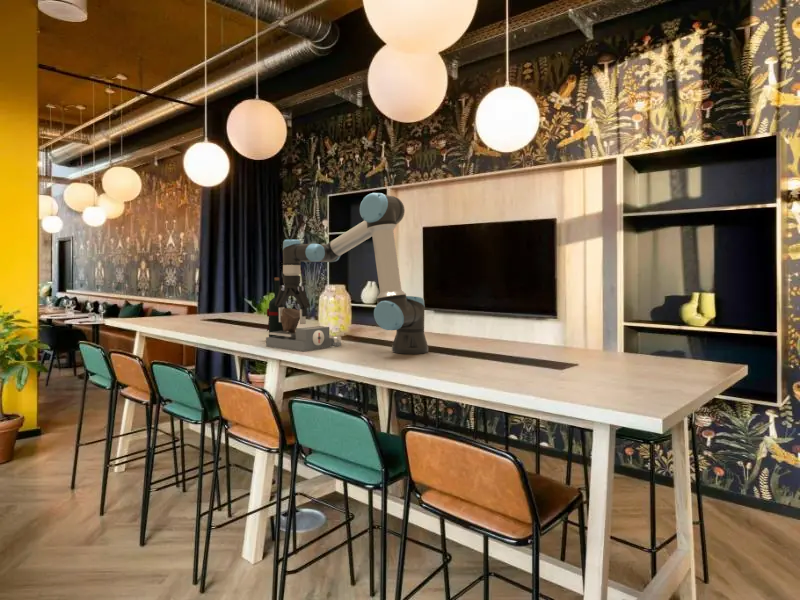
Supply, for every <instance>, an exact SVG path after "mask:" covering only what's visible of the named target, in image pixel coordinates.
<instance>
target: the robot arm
mask: <svg viewBox="0 0 800 600" xmlns="http://www.w3.org/2000/svg"><path fill="white" fill-rule="evenodd" d="M359 214H360V218H362V220H363V221H362V222H359V223H358V224H357V225H354V226H353V227H352V228H350V229H349V230H347V231H346V232H344V233H342V234H340V235H339V236H338V237H336V238H334V239H332V240H331V241H329V242H328V243H325V244H319V243H303V244H302V243H301V240H300V239H284V240H283V241H282V264H283V265H282V274H283V275H282V283H283V285H279V292H278V295H277V298H276V301H275V306H277V307H278V314H279V322H281V313H282V311H283V309H284V308H286V306H285V307H284V304H285V305H286V302H287V300H288V299H289V297H293V298H295V300H296V302H297V303H298V305H299V307H300V309H299V311H300V320H299V325H305V324H307V323H306V322H307V319H306V318H307V309H309V308H311V305H310V301H309V299H308V296H307V293H306V289H305V286H304V285H302V286H301V285H300V284H301V280H302V279H301V262H311V263H313V262H319V263H320V262H321V263H322V262H324V263H326V262H327V263H334V262H337V261H339V260H340V258H341V256H342V255H343V254H345V253H347V252H349V251H350V250H351V249H354V248H355V247H357V246H359V245H360V244H362V243H363V242H365V241H366V240H369V239H370V238H371V237H372V245H373V251H374V259H375V265H376V272H377V273H376V274H377V279H378V281H377V282H378V287H379V294H378V295H377V297H376V302H377V304H376V306H375V307H374V309H373V317H374V321H375V322H376V324H377V325H378V327H380V328H381V329H383V330H386V331H395V332H396V333H395V336H394V339H393V342H392V345H391V351H392V353H395V354H402V355H403V354H404V355H419V354H427V353H429V346H428V342H427V338H426V335H425V311H426V310H425V308H426V306H425V300H424V299H425V298H423V297H421V296H412V295H407V294H406V292H404V291H403V289H402V284H401V277H400V269H399V262H398V255H397V254H398V253H397V248H396V240H395V232H394V230H395V229H396V227H397V225H398V224H399V223H401V221H402V220H403V218H404V217H405V205H404V203H403V202H402V200H400V199H399V198H398V197H397V196H394V195H388V194H384V193H382V192H372V193H369V194H367V195H365V196H364V197H363V199H362V201H361V202H360V205H359Z"/></svg>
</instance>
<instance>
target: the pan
mask: <svg viewBox="0 0 800 600" xmlns="http://www.w3.org/2000/svg"><path fill="white" fill-rule="evenodd" d="M269 334H270V335H279V336H287V337H295V336H296V330H295V332H288V331H287V332H285V331H284V330H283V331H275V332H269V331H268V335H269Z"/></svg>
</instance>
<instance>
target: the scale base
mask: <svg viewBox="0 0 800 600" xmlns="http://www.w3.org/2000/svg"><path fill="white" fill-rule="evenodd" d="M329 335H330V326H323V325H317V326H309V327H308V326H307V327H301V328H300V327H299V328H298V327H297V328H296V336H295V337H287V336H272V337H269V336H265V347H267V346H268V348H269V347H270V348H275V349H283V350H289V351H297V352H309V351H311V352H312V351H316V350H323V349H329V348H331V347H332V346H331V338H329Z"/></svg>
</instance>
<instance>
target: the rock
mask: <svg viewBox="0 0 800 600" xmlns="http://www.w3.org/2000/svg"><path fill="white" fill-rule="evenodd" d="M281 322H282V326H283V330H284V331H285V332H287V331H288V332H295V330H296V329H298V325H299V324H300V309H295V308H289V307H288V308H287V307H285V308H284V309H283V311H282V313H281Z"/></svg>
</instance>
